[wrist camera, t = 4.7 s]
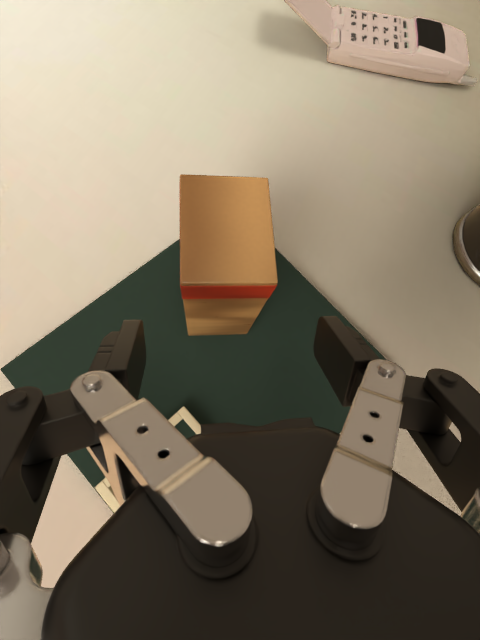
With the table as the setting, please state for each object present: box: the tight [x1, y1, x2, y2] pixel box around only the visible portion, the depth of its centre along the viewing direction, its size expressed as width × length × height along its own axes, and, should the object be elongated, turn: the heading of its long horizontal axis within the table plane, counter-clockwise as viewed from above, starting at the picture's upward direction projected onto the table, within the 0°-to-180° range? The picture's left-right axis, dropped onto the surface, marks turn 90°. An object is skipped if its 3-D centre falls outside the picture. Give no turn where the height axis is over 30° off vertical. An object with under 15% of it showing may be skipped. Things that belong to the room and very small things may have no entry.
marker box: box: [180, 175, 278, 336], centre depth 21 cm, size 5×6×10 cm
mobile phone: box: [284, 0, 477, 86], centre depth 34 cm, size 6×6×25 cm
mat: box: [1, 239, 386, 513], centre depth 24 cm, size 22×20×1 cm
